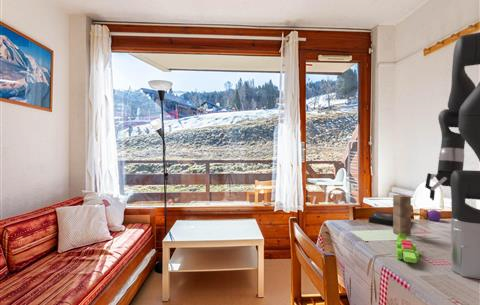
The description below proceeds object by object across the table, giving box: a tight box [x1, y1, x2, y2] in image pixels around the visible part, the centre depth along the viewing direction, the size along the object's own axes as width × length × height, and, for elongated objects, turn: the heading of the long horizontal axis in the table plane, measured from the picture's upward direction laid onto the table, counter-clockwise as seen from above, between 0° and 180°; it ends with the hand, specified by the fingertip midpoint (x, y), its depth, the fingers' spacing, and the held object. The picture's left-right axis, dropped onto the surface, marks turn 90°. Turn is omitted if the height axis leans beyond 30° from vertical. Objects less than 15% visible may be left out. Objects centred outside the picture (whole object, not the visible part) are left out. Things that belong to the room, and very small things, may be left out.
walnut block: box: [392, 194, 412, 236], centre depth 122 cm, size 5×5×18 cm
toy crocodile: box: [395, 234, 420, 264], centre depth 98 cm, size 20×7×6 cm, turn 152°
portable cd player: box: [368, 210, 393, 227], centre depth 143 cm, size 16×17×4 cm
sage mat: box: [349, 229, 423, 242], centre depth 121 cm, size 26×14×1 cm, turn 93°
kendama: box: [411, 209, 442, 222], centre depth 151 cm, size 6×6×20 cm
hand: (446, 202), depth 100 cm, fingers open, 8 cm apart
